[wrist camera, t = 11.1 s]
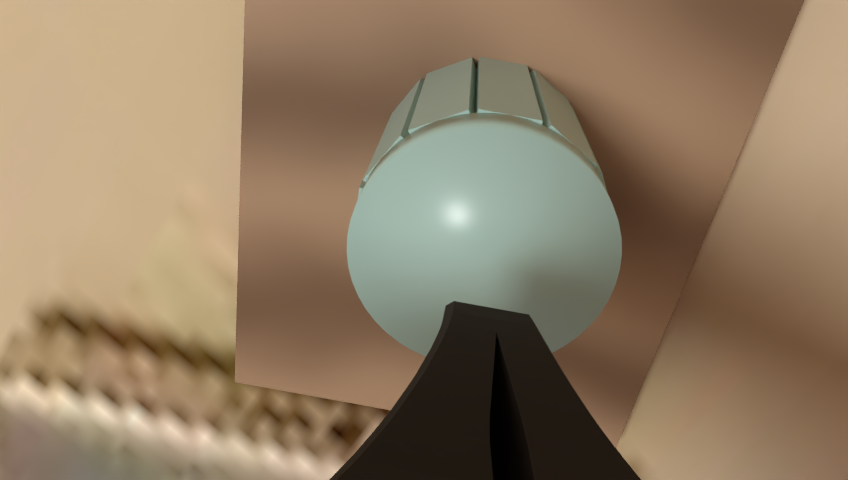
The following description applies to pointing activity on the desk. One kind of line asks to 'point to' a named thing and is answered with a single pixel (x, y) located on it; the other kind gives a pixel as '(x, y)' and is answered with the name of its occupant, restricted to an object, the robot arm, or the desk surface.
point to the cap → (483, 208)
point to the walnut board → (476, 37)
